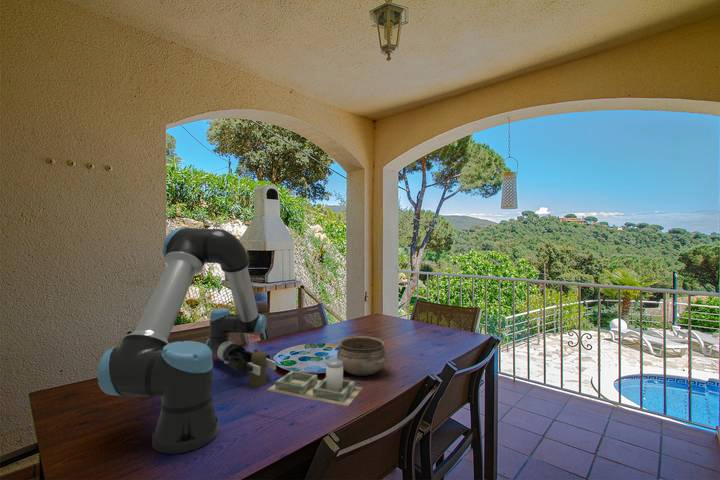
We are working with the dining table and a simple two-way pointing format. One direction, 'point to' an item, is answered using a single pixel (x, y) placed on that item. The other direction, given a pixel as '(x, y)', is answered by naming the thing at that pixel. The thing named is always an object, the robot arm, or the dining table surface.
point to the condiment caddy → (314, 388)
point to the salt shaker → (334, 375)
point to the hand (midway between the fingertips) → (267, 368)
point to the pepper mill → (259, 360)
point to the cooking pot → (362, 355)
